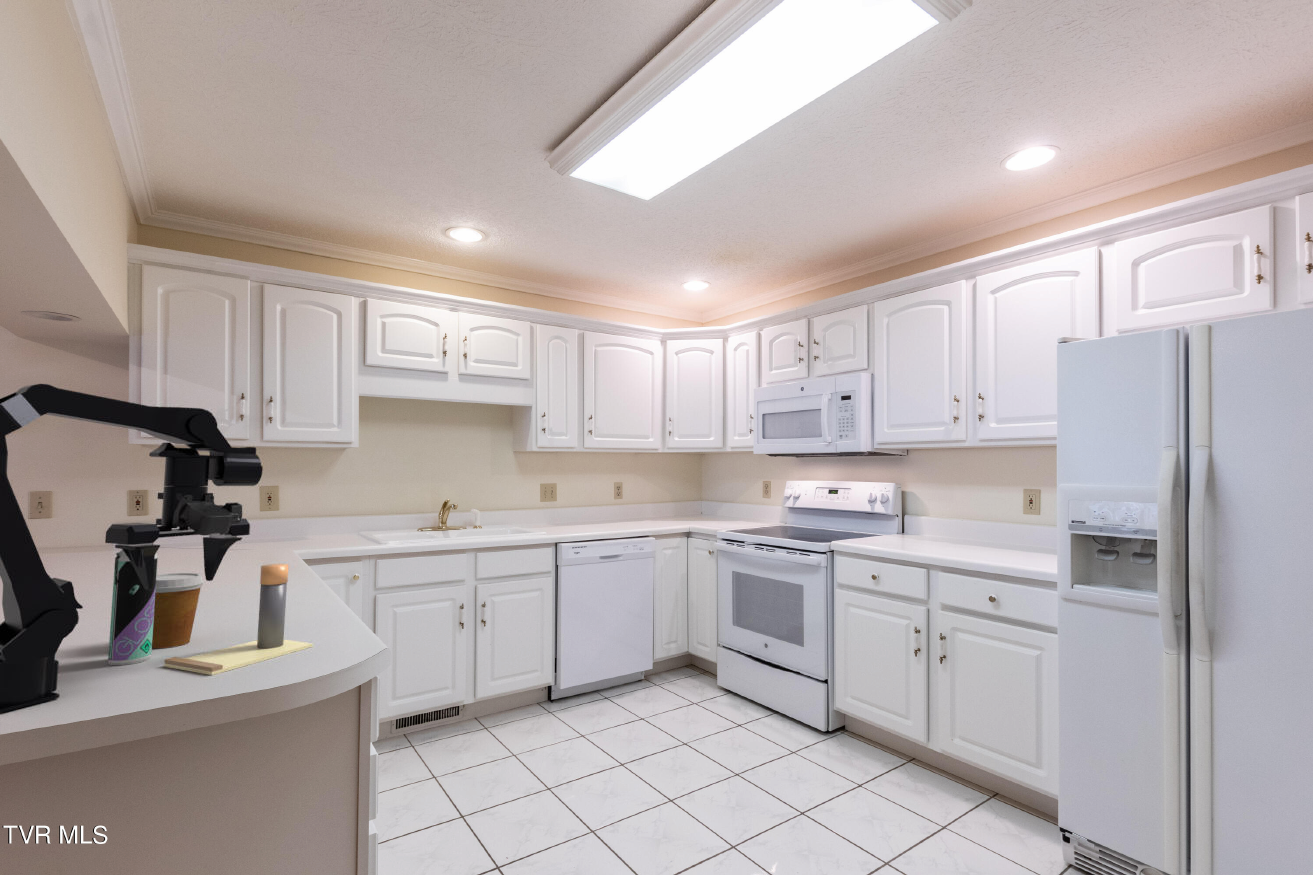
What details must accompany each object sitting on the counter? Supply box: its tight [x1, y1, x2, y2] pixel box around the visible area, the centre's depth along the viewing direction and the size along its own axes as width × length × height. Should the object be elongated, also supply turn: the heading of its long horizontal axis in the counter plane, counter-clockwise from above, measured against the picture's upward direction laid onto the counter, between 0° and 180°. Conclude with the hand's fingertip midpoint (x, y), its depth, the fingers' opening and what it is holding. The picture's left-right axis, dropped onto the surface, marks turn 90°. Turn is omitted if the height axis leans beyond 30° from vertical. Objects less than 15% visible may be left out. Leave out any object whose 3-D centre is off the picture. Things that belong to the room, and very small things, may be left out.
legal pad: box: [164, 639, 314, 676], centre depth 108 cm, size 18×11×1 cm, turn 159°
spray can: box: [107, 549, 159, 666], centre depth 105 cm, size 6×6×20 cm
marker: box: [256, 563, 289, 649], centre depth 113 cm, size 4×4×14 cm
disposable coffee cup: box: [152, 572, 205, 649], centre depth 115 cm, size 10×10×12 cm
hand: (180, 584), depth 101 cm, fingers open, 9 cm apart
